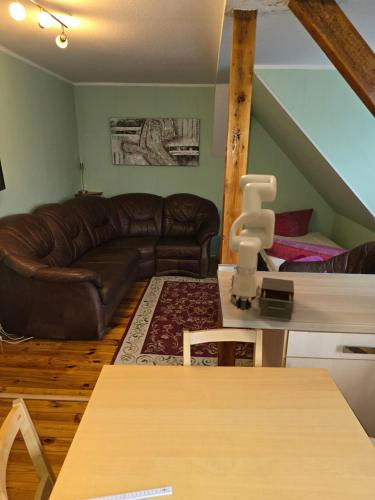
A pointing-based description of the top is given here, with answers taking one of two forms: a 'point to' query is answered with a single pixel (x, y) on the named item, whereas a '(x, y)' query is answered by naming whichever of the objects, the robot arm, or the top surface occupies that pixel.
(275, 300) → the drawer
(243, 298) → the salt shaker
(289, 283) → the cabinet
